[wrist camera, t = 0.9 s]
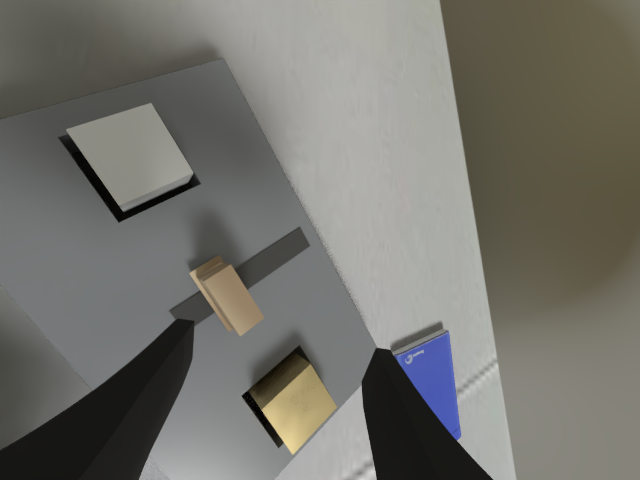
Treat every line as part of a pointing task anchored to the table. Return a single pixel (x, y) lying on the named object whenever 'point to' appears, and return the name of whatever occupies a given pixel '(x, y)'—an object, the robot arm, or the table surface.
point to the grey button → (133, 155)
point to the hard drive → (433, 376)
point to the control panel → (177, 267)
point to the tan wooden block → (227, 295)
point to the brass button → (293, 400)
